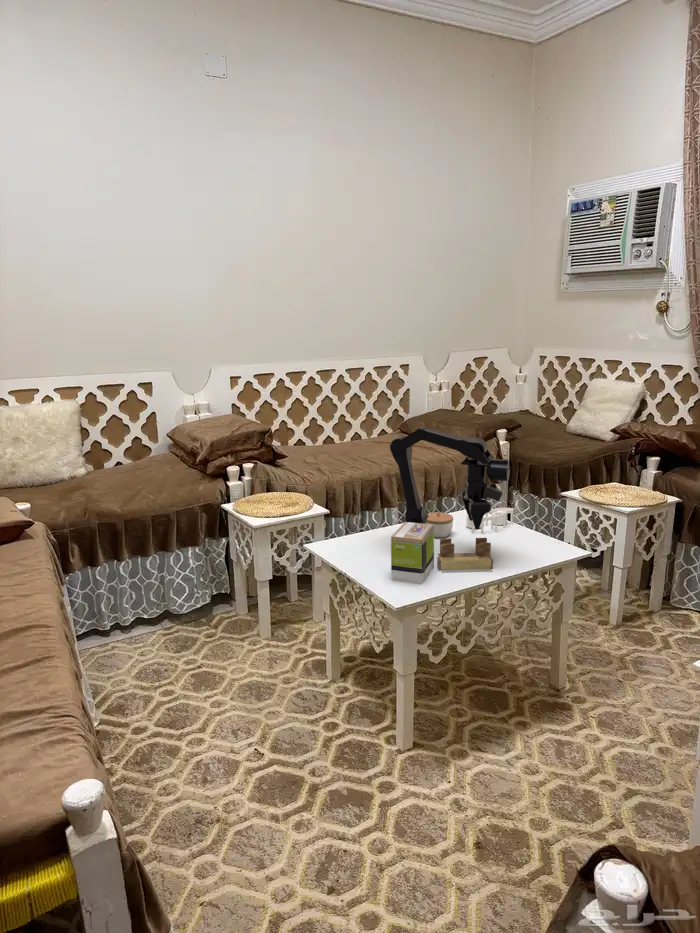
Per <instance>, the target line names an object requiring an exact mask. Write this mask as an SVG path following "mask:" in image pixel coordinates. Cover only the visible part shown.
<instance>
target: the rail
mask: <svg viewBox="0 0 700 933" xmlns="http://www.w3.org/2000/svg"><path fill="white" fill-rule="evenodd" d="M436 568H437V570H438V571H440V572H441V570H461V569H491V570H493V569H494V558H493V557H492V556H491V555H490V556H486V557H442V558H439V556H437V557H436Z"/></svg>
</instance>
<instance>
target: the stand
mask: <svg viewBox="0 0 700 933" xmlns="http://www.w3.org/2000/svg"><path fill="white" fill-rule="evenodd" d="M491 547H492V543H491V542H488V537H475V550H474V551H475V552H455V543H452V538H439V553H437V557H439V558H442V557H486V556H491Z"/></svg>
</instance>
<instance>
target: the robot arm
mask: <svg viewBox="0 0 700 933" xmlns="http://www.w3.org/2000/svg"><path fill="white" fill-rule="evenodd" d="M420 441H424V442H427V443H432V444H434V445H438V446H441V447H444V448H448V449H451V450H455V451H457V452H459V453H460V454H461V455H463V456H465V458H464V459H463V460H462V461H461V462H460V464H461V465H463V466H466V470H467V471H466V479H465V484H466V487H462V489H461V490H460V497H461V501H462V504H463V506H464V509H465V511H466V513H467V514H466V515H468V517H469V519H470V521H473V523H474V526H475V528H474V530H480V529H481V528H480V525H481V522H482V519H483V517H485V516H486V513H488V512H489V511H491V510H492V509H491V508H492V505H491V504H490V502H489V501H488V498H489V499H491V500H494V501H495V502H500V501H501V498H502V497H503V494H504V493H503V491H502V490H501V489H500V488H497V485H496V483H494V482H490V483H487V482H486V477H487V479H489V480H491V481H498V482H499V481H500V482H502V481H503V482H508V481H509V480H510V479H509V478H510V472H511V471H510V470H511V468H510V463H509V462H510V461H509V459H508V458H507V459H505V458H504V459H503V458H502V459H498V458H497V459H495V458H494V456H493V455H492V454H491V452H490V450H489V449H488V445H487V444H488V443H487V442H486V441H485V439H482V438H477V437H460V436H456V435H454V434H450V433H446V432H443V431H439V430H435V429H432V428H428V427H426V426H420V427H418V428H417V429H415V431H413V432H412V433H409V434H408V435H400V436H398V437H397V438H394V439H393V440H392V441H391V442H390V444H389V450H390V453H391V455H392V457H393V460H394V461H395V463H396V464H397V466H398V471H399V476H400V480H401V486H402V489H403V490H402V492H403V495H404V500H405V501H404V502H405V504H406V508H405V514H404V515H405V522H410V523H421V524H426V522H427V518H428V517H429V516H428V515H427V514H428V512H427V510H428V509H427V506H426V505H423V506H422V504H421V502H420V499H419V494H418V489H417V484H416V480H415V474H414V470H413V465H412V459H413V458H412V456H413V446H414V445H415V444H417V443H419V442H420ZM488 514H489V513H488Z"/></svg>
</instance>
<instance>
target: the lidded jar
mask: <svg viewBox="0 0 700 933" xmlns="http://www.w3.org/2000/svg"><path fill="white" fill-rule="evenodd" d="M427 515H428V516H429V517H428V518H427V522H426V524H433V525H434V539H445V538H447V537H448V536H449V535H450V534H451V532H452V529H453V523H454V522H453V521H454V516H453V515H452V514H449V513H446V512H440V511H437V512H435V511H434V512H429V513H428V512H427Z"/></svg>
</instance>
